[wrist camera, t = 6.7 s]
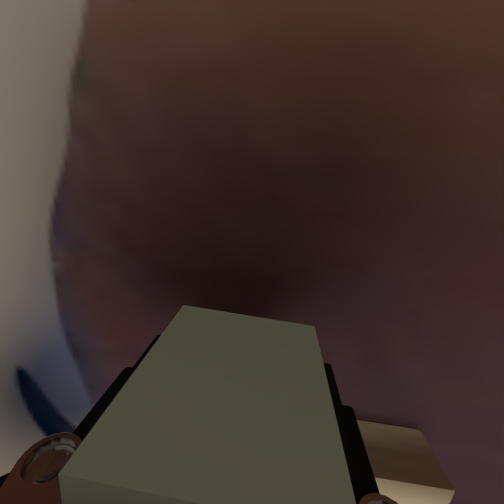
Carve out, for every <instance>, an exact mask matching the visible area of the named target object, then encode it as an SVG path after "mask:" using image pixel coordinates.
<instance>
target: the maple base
mask: <svg viewBox="0 0 504 504" xmlns="http://www.w3.org/2000/svg"><path fill="white" fill-rule="evenodd" d="M357 423H358V426H359V429H360V432H361V435H362V439H363V442H364V445H365V448H366V451H367V455H368V458H369V461H370V464H371V467H372V470H373V474H374V477H375V480H376V483H377V486H378V489H379V493H380V494H382V495H385V496H387V497H389V498H391V499H392V500H394V501H395V502H397V503H398V504H449V503H450V501H451V499H452V497H453V495H454V492H455V490H454V488H453V486H452V484H451V483H450V481H449V479H448V478H447V476H446V474H445V473H444V471H443V469H442V467H441V466H440V464H439V462H438V461H437V459H436V457H435V456H434V454H433V452H432V450H431V449H430V447H429V445H428V444H427V442H426V440H425V438H424V437H423V435H422V433H421V432H420V430H417V429H411V428H405V427H399V426H392V425H386V424H380V423H373V422H367V421H361V420H357Z"/></svg>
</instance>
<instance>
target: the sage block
mask: <svg viewBox="0 0 504 504" xmlns="http://www.w3.org/2000/svg"><path fill="white" fill-rule="evenodd" d="M58 476H59V484H60V492H61V500H62V504H356V501H355V497H354V492H353V488H352V484H351V480H350V475H349V471H348V467H347V462H346V458H345V454H344V450H343V445H342V441H341V437H340V433H339V428H338V424H337V420H336V415H335V411H334V407H333V403H332V398H331V394H330V390H329V386H328V381H327V377H326V373H325V368H324V364H323V360H322V356H321V351H320V347H319V343H318V338H317V334H316V330H315V326H310V325H303V324H297V323H291V322H285V321H279V320H273V319H267V318H260V317H254V316H248V315H242V314H236V313H230V312H223V311H217V310H211V309H205V308H199V307H193V306H186V305H183V306H182V308H181V309H180V310H179V312H178V313H177V314H176V316H175V317H174V318H173V320H172V321H171V323H170V324H169V325H168V327H167V328H166V329H165V331H164V332H163V333H162V335H161V336H160V337H159V339H158V340H157V341H156V343H155V344H154V345H153V347H152V348H151V350H150V351H149V352H148V354H147V355H146V356H145V358H144V359H143V360H142V362H141V363H140V364H139V366H138V367H137V368H136V370H135V371H134V372H133V374H132V375H131V377H130V378H129V379H128V381H127V382H126V383H125V385H124V386H123V387H122V389H121V390H120V391H119V393H118V394H117V395H116V397H115V398H114V399H113V401H112V402H111V404H110V405H109V406H108V408H107V409H106V410H105V412H104V413H103V414H102V416H101V417H100V418H99V420H98V421H97V422H96V424H95V425H94V426H93V428H92V429H91V431H90V432H89V433H88V435H87V436H86V437H85V439H84V440H83V441H82V443H81V444H80V445H79V447H78V448H77V449H76V451H75V452H74V453H73V455H72V456H71V458H70V459H69V460H68V462H67V463H66V464H65V466H64V467H63V468H62V470H61V471H60V472H59V474H58Z"/></svg>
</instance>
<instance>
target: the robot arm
mask: <svg viewBox="0 0 504 504" xmlns="http://www.w3.org/2000/svg"><path fill="white" fill-rule="evenodd" d="M160 336H161V335H157V336H156V338H155V339H154V340H153V341H152V343H151V344H150V345H149V347H148V348H147V349H146V351H145V352H144V353H143V355H142V356H141V357H140V358H139V360H138V361H137V362H136V364H135V365H134V366H133V368H132V367H127V368H125V369H124V370H123V371H122V372H121V373H120V374H119V376H118V377H117V378H116V379H115V381H114V382H113V383H112V384H111V386H110V387H109V388H108V389H107V391H106V392H105V393H104V394H103V396H102V397H101V398H100V399H99V401H98V402H97V403H96V404H95V406H94V407H93V408H92V409H91V411H90V412H89V413H88V414H87V416H86V417H85V418H84V419H83V421H82V422H81V423H80V424H79V426H78V427H77V428H76V429H75V431H74V432H73V433H65V432H63V433H57V434H53V435H50V436H48V437H45V438H43V439H41V440H40V441H38V442H37V443H35V444H33V445H32V446H31V447H30V448H29V449H28V450H26V451H25V452H24V453H23V454H22V456H21V457H20V458H19V460H18V461H17V462H16V464H15V465H14V467H13V469H12V470H11V472H10V473H8V474H5V475H3V476H1V477H0V504H62V500H61V492H60V484H59V476H58V474H59V472H60V471H61V470H62V468H63V467H64V466H65V464H66V463H67V462H68V460H69V459H70V458H71V456H72V455H73V453H74V452H75V451H76V449H77V448H78V447H79V445H80V444H81V443H82V441H83V440H84V439H85V437H86V436H87V435H88V433H89V432H90V431H91V429H92V428H93V426H94V425H95V424H96V422H97V421H98V420H99V418H100V417H101V416H102V414H103V413H104V412H105V410H106V409H107V408H108V406H109V405H110V404H111V402H112V401H113V399H114V398H115V397H116V395H117V394H118V393H119V391H120V390H121V389H122V387H123V386H124V385H125V383H126V382H127V381H128V379H129V378H130V377H131V375H132V374H133V372H134V371H135V370H136V368H137V367H138V366H139V364H140V363H141V362H142V360H143V359H144V358H145V356H146V355H147V354H148V352H149V351H150V350H151V348H152V347H153V345H154V344H155V343H156V341H157V340H158V339H159V337H160ZM323 364H324V368H325V373H326V377H327V381H328V386H329V390H330V394H331V398H332V403H333V407H334V411H335V415H336V420H337V424H338V428H339V433H340V437H341V441H342V445H343V450H344V454H345V458H346V462H347V467H348V471H349V475H350V480H351V484H352V488H353V492H354V497H355V501H356V504H398V503H397V502H395V501H394V500H392V499H391V498H389V497H387V496H385V495H382V494H380V493H379V489H378V486H377V483H376V480H375V477H374V474H373V470H372V467H371V464H370V461H369V458H368V455H367V451H366V448H365V445H364V442H363V439H362V435H361V432H360V429H359V426H358V423H357V420H356V416H355V413H354V411H353V409H352V408H351V407H350V406H344V405H342V403H341V400H340V396H339V392H338V389H337V385H336V381H335V378H334V374H333V370H332V367H331V364H328V363H323Z"/></svg>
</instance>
